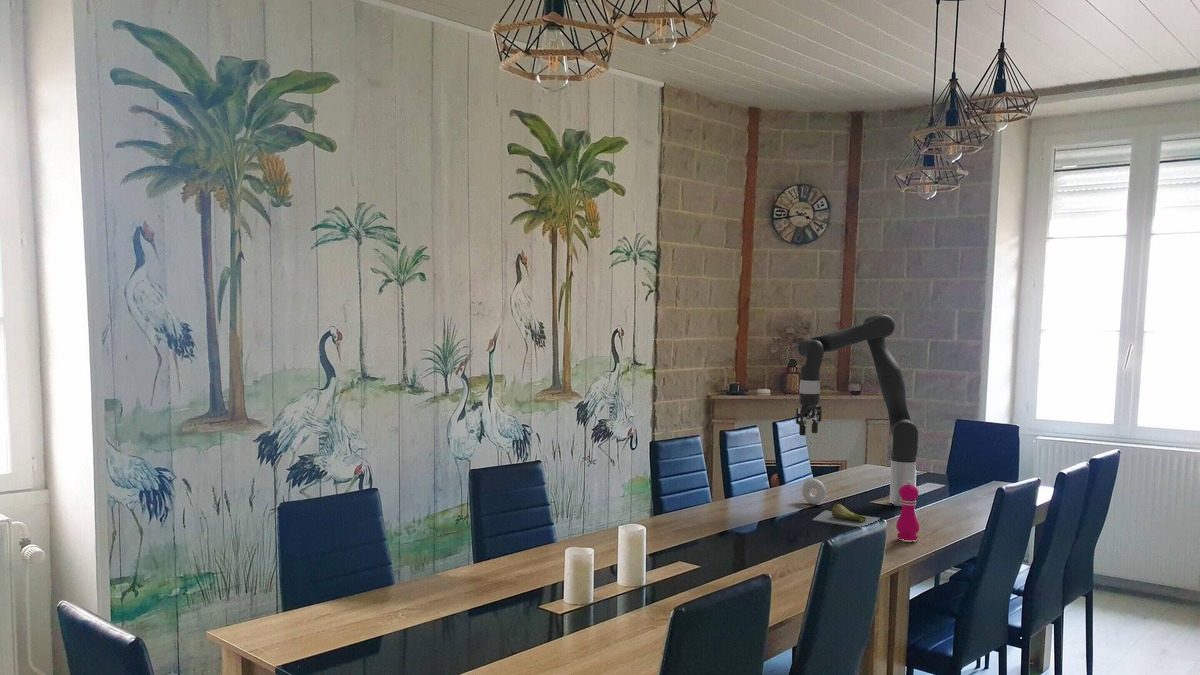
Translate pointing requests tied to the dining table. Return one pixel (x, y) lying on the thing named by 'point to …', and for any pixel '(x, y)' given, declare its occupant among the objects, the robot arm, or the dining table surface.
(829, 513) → the rubber mat
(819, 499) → the donut
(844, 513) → the fennel bulb
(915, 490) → the pepper mill
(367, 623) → the dining table surface
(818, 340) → the robot arm
